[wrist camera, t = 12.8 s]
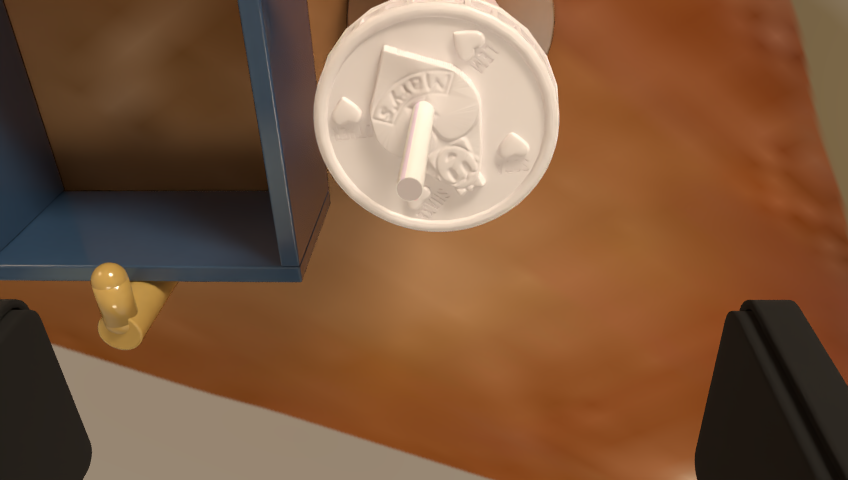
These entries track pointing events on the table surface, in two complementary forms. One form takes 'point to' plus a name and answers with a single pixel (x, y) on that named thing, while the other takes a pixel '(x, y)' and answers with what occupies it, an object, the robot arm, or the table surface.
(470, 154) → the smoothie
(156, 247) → the drawer
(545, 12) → the coaster
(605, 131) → the table surface
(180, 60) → the table surface
